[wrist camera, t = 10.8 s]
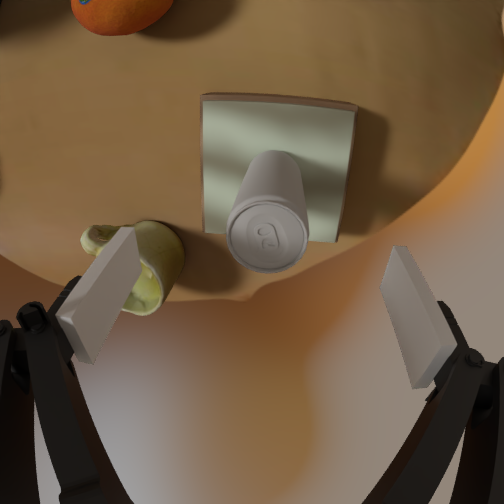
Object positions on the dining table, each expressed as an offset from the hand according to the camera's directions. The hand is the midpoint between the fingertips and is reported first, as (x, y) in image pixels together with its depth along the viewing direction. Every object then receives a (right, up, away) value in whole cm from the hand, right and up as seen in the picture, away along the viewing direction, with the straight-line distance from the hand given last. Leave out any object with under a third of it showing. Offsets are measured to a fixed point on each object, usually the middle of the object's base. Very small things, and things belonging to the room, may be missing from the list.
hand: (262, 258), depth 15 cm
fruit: (-12, +27, +7) cm, 31 cm away
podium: (+2, +10, +16) cm, 19 cm away
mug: (-14, +2, +23) cm, 27 cm away
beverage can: (+1, +7, +12) cm, 14 cm away
